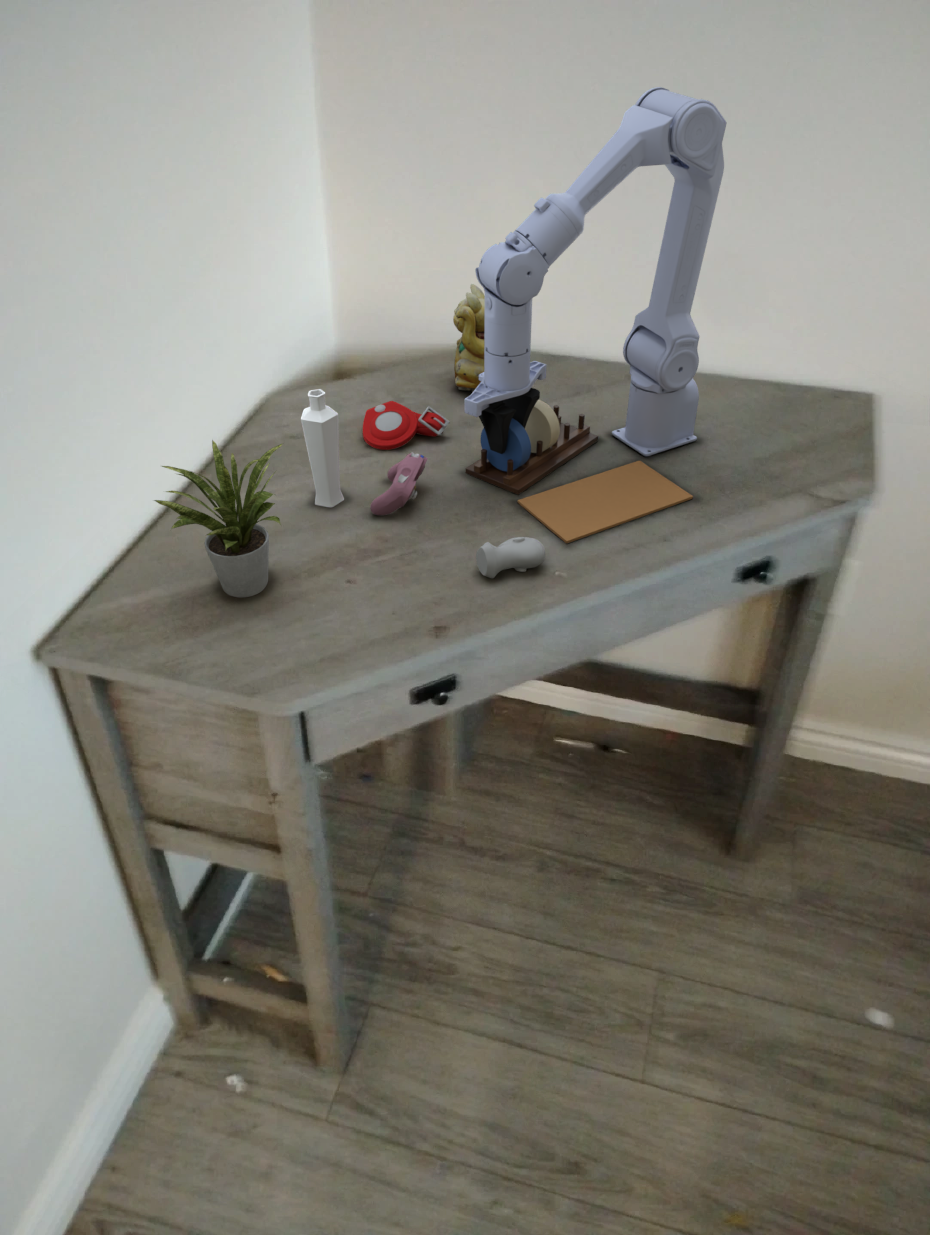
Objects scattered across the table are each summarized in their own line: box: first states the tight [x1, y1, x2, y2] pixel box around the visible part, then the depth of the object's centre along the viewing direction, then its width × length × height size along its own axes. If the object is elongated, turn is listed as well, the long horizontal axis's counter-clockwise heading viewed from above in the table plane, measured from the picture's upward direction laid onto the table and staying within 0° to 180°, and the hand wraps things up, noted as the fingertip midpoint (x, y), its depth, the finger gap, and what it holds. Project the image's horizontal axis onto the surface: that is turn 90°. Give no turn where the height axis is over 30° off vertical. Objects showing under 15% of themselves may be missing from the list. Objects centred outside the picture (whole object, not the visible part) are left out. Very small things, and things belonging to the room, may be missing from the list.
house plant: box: [152, 439, 285, 598], centre depth 103 cm, size 14×14×16 cm
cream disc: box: [525, 399, 560, 453], centre depth 127 cm, size 2×7×7 cm, turn 50°
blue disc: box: [480, 418, 531, 472], centre depth 123 cm, size 2×7×7 cm, turn 50°
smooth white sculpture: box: [475, 536, 546, 579], centre depth 108 cm, size 4×8×5 cm
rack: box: [464, 404, 599, 496], centre depth 129 cm, size 19×9×4 cm, turn 140°
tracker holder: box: [362, 400, 450, 451], centre depth 135 cm, size 12×4×10 cm
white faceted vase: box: [300, 388, 345, 508], centre depth 117 cm, size 5×4×15 cm
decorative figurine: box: [452, 283, 485, 393], centre depth 143 cm, size 10×8×15 cm
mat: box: [517, 460, 694, 544], centre depth 121 cm, size 20×11×1 cm, turn 120°
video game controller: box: [369, 450, 429, 516], centre depth 120 cm, size 10×5×7 cm, turn 168°
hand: (505, 446), depth 123 cm, fingers open, 3 cm apart
